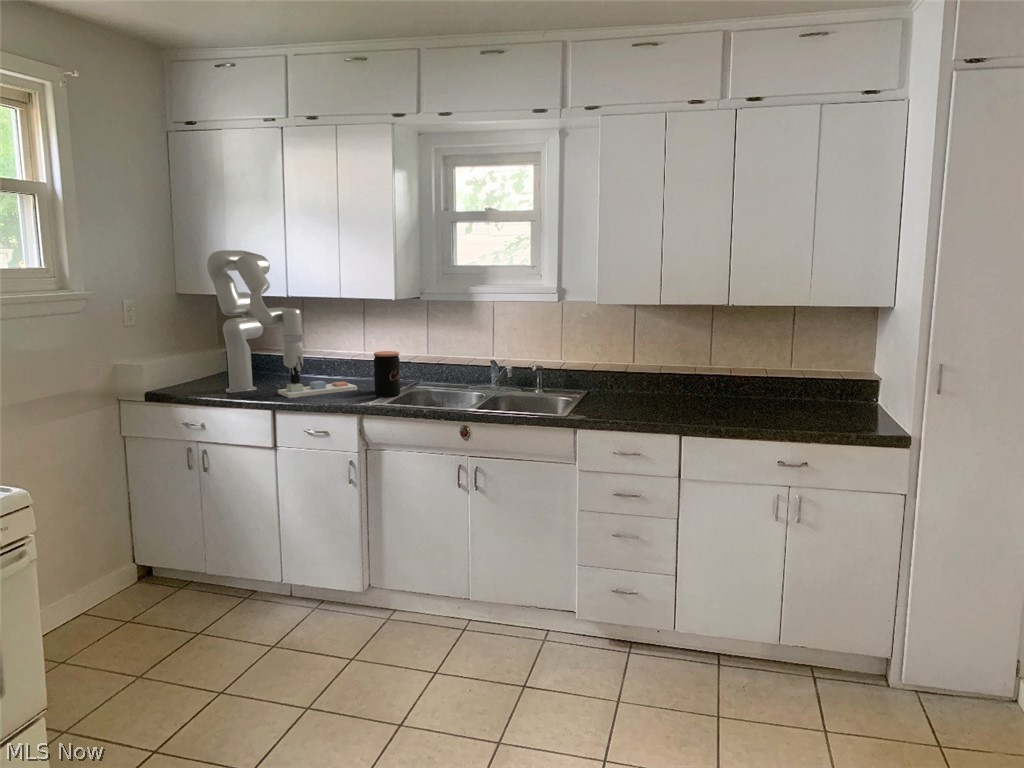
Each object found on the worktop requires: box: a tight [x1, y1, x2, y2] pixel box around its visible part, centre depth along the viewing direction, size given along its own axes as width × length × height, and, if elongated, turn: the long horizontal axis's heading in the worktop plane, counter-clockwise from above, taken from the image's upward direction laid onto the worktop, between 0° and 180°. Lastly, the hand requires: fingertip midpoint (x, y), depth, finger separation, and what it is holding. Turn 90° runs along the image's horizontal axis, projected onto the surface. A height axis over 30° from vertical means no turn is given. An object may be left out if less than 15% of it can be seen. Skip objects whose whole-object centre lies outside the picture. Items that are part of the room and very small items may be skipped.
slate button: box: [309, 380, 327, 390], centre depth 319 cm, size 5×5×4 cm
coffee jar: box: [373, 350, 401, 398], centre depth 317 cm, size 11×11×18 cm
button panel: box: [277, 382, 358, 399], centre depth 319 cm, size 12×30×3 cm, turn 127°
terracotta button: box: [331, 381, 349, 387], centre depth 325 cm, size 5×5×4 cm
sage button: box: [286, 383, 304, 392], centre depth 313 cm, size 5×5×4 cm
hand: (295, 383), depth 312 cm, fingers closed
